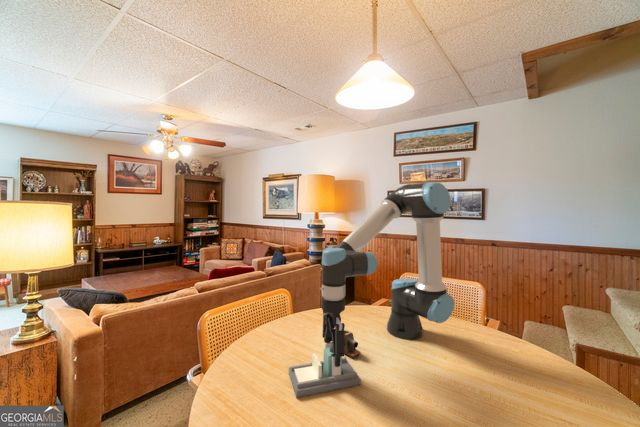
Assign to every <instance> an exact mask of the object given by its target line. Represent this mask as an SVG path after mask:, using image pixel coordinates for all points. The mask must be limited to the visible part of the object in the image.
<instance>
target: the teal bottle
mask: <svg viewBox="0 0 640 427" xmlns="http://www.w3.org/2000/svg"><path fill="white" fill-rule="evenodd" d="M331 354H333V345H331V346H330V348H325V347H324V348H323V361H324V363H323V373H324V375H325V377H332V356H331ZM342 358H343V356H342V357H341V375H342Z"/></svg>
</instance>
